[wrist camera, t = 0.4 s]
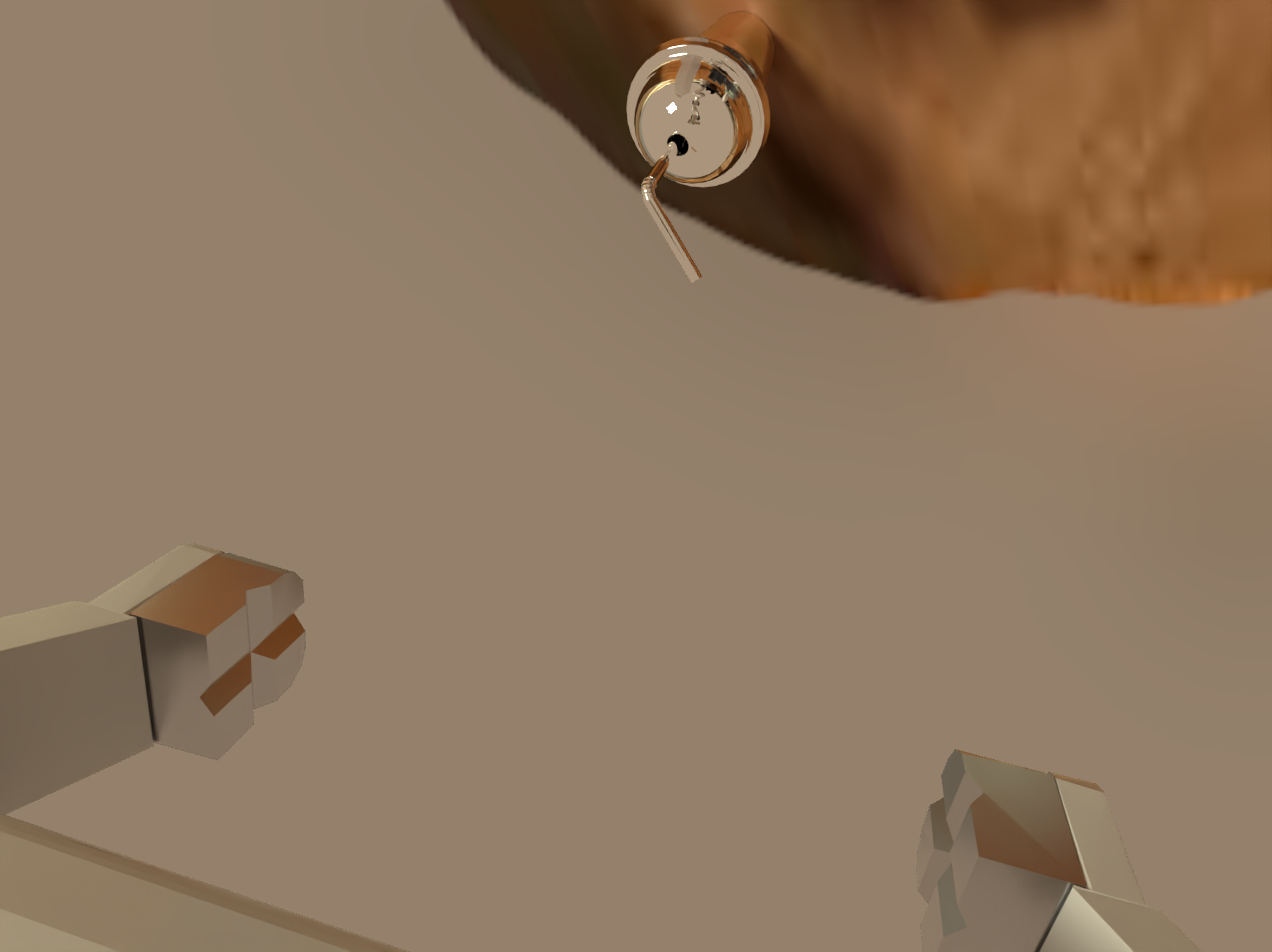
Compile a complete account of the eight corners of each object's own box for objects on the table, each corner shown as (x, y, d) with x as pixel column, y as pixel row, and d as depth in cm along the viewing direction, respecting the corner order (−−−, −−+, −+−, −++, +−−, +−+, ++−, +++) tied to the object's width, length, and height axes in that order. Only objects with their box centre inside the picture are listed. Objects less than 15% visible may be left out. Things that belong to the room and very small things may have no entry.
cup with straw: (802, -31, 51) (710, 114, 38) (808, 119, 57) (732, 287, 44) (668, -17, 54) (542, 122, 41) (688, 124, 60) (584, 282, 47)
